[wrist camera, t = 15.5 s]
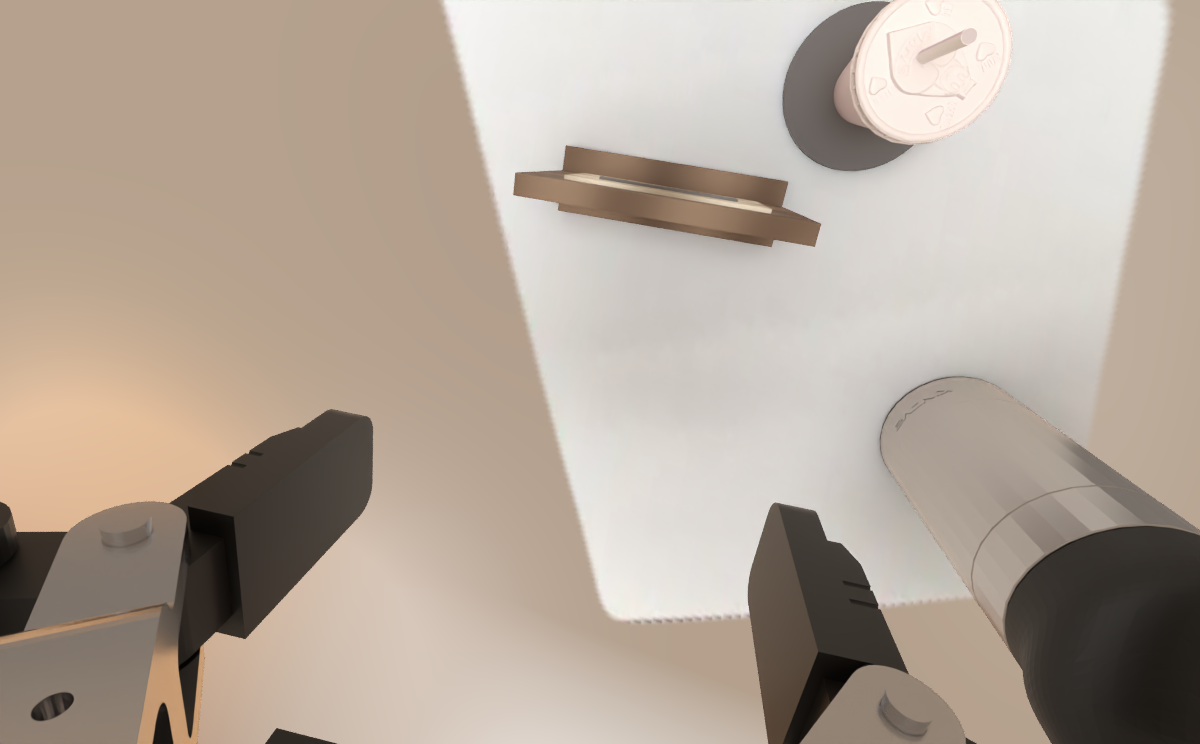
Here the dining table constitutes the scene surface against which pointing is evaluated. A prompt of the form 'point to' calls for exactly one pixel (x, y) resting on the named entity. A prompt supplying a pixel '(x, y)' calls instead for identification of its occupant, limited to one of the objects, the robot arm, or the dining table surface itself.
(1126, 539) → the robot arm
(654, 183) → the placard
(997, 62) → the smoothie
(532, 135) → the dining table surface
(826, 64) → the coaster
